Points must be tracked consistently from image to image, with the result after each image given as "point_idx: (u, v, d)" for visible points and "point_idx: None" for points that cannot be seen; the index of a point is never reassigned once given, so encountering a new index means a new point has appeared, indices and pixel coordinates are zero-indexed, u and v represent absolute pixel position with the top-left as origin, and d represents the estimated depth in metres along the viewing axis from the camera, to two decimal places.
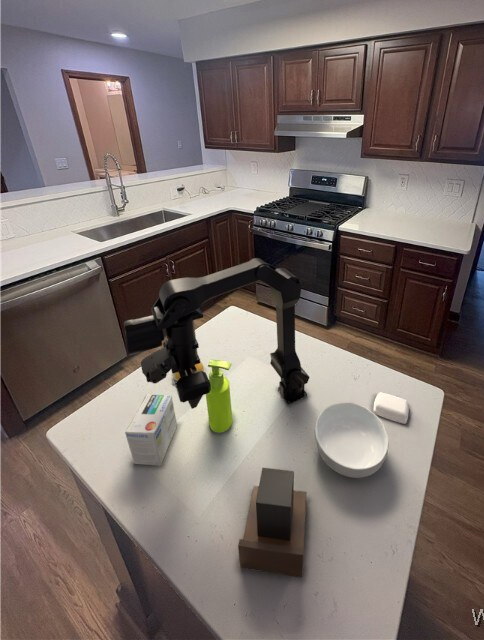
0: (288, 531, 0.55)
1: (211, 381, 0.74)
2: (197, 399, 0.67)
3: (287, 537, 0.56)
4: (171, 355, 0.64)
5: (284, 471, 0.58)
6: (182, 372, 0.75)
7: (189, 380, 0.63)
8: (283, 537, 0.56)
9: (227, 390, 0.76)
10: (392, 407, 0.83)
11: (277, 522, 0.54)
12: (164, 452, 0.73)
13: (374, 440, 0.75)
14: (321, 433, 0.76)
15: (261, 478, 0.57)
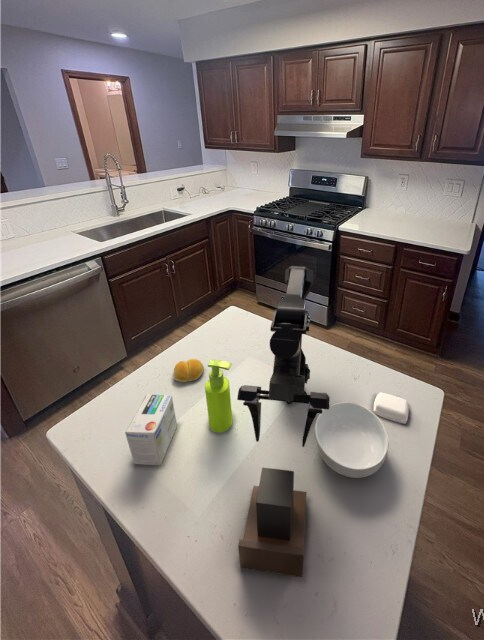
0: (288, 531, 0.55)
1: (211, 381, 0.74)
2: None
3: (287, 537, 0.56)
4: (296, 372, 0.64)
5: (284, 471, 0.58)
6: (259, 427, 0.63)
7: None
8: (283, 537, 0.56)
9: (227, 390, 0.76)
10: (392, 407, 0.83)
11: (277, 522, 0.54)
12: (164, 452, 0.73)
13: (374, 440, 0.75)
14: (321, 433, 0.76)
15: (261, 478, 0.57)
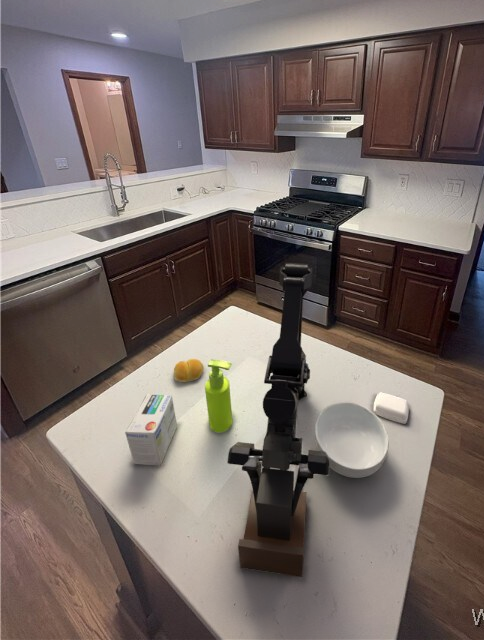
0: (288, 531, 0.55)
1: (211, 381, 0.74)
2: None
3: (287, 537, 0.56)
4: (292, 431, 0.59)
5: (284, 471, 0.58)
6: None
7: (316, 453, 0.59)
8: (283, 537, 0.56)
9: (227, 390, 0.76)
10: (392, 407, 0.83)
11: (277, 522, 0.54)
12: (164, 452, 0.73)
13: (374, 440, 0.75)
14: (321, 433, 0.76)
15: (261, 478, 0.56)
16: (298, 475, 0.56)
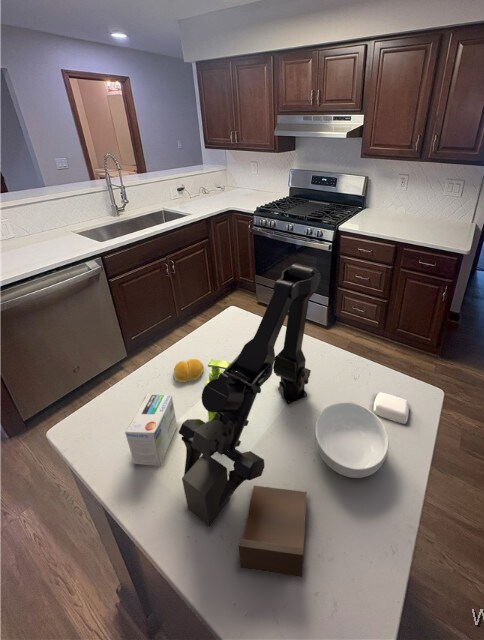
0: (206, 518, 0.59)
1: None
2: (232, 491, 0.60)
3: (207, 523, 0.60)
4: (233, 426, 0.61)
5: (219, 464, 0.62)
6: (190, 467, 0.64)
7: (250, 456, 0.60)
8: (204, 522, 0.61)
9: None
10: (392, 407, 0.83)
11: (198, 505, 0.60)
12: (164, 452, 0.73)
13: (374, 440, 0.75)
14: (321, 433, 0.76)
15: (198, 460, 0.62)
16: (230, 472, 0.58)
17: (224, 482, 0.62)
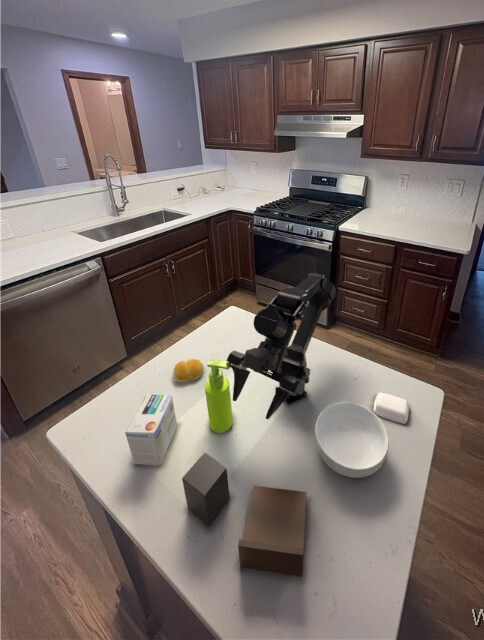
0: (206, 518, 0.59)
1: (211, 381, 0.74)
2: (277, 407, 0.68)
3: (207, 523, 0.60)
4: (277, 352, 0.70)
5: (219, 464, 0.62)
6: (238, 390, 0.72)
7: (292, 376, 0.68)
8: (204, 522, 0.61)
9: (227, 390, 0.76)
10: (392, 407, 0.83)
11: (198, 505, 0.60)
12: (164, 452, 0.73)
13: (374, 440, 0.75)
14: (321, 433, 0.76)
15: (198, 460, 0.62)
16: (276, 387, 0.66)
17: (224, 482, 0.62)
